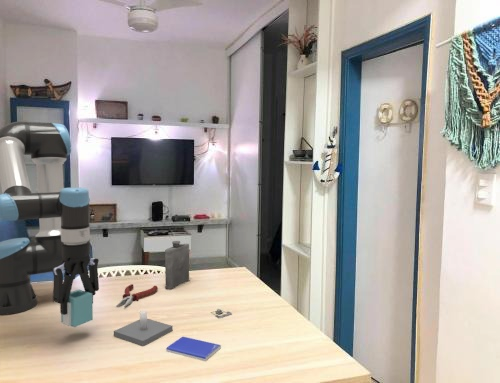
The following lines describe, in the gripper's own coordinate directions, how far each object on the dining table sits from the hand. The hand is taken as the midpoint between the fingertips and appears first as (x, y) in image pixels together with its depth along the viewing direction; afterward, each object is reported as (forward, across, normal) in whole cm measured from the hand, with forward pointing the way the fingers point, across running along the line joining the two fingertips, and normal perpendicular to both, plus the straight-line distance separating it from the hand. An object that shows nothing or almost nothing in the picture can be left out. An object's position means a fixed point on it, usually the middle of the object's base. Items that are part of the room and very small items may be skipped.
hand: (77, 320), depth 118 cm
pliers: (+6, +32, +13) cm, 35 cm away
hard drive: (+5, +12, -34) cm, 36 cm away
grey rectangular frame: (+5, +38, -29) cm, 48 cm away
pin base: (+5, +12, -14) cm, 19 cm away
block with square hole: (0, 0, 0) cm, 0 cm away
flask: (+6, +53, +8) cm, 54 cm away
